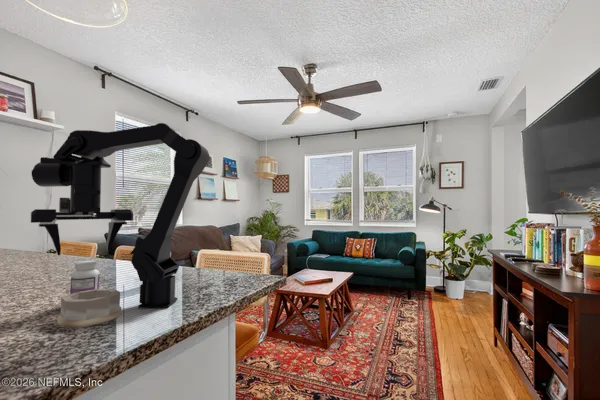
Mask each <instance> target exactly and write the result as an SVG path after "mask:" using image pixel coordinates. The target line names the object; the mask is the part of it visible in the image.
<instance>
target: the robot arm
mask: <svg viewBox="0 0 600 400" xmlns="http://www.w3.org/2000/svg"><path fill="white" fill-rule="evenodd" d="M161 144H165V145H166V146H168V147H169V148H170V149H172V150H173V151H174V152H175V154H174V160H173V176H172V179H171V181H170V182H169V183H170V184H169V186H168V188H167V191H166V193H165V196H164V198H163V200H162V204H161V205H160V208H159V210H158V212H157V215H156V218H155V220H154V222H153V225H152V228H151V230H150V232H149V233H148V234H147V235H142V236H137V238H136V240H135V243H134V248H133V249H132V251H130V253H129V254H130V255H132V256H131V261H130V262H131V264H132V266H133V268H134V269H135V271H136V272H137V276H138V279H139V281H140V282H142V284H140V285H139V304H138V305H137V309H167V308H169V307H170V306H171V305H172V304H174V303H175V302H176V301H177V300H178V297H176V295H175V294H176V275H175V274H177V273H178V271H179V268H180V264H178V262H176V260H174V258H172V256H171V252H172V249H173V245H172V244H173V243H172V235H173V233H174V230H175V229H176V226H177V223H178V221H179V218H180V216H181V214H182V213H181V212H182V210H183V209H184V206H185V203H186V201H187V199H188V196H189V193H190V191H191V188H192V186H193V184H194V182H195V181H196V179H197V178H198V177H199V176H200V175H201V174H202V173H203V171H204V170H205V168H206V166H207V165H208V163H209V161H210V153H209V151H208V150H207V148H206V147H205V146H203V145H202V144H201V143H199V142H198V141H197V140H195V139H191V138H190V139H189V138H188V139H186V138H185V137H183V136H182V135H180V134H179V133H177V132H176V131H175V129H174V128H172V127H170V126H169V125H168V124H166V123H163V122H159V123H156V124H155V125H154V124H153V125H147V126H146V125H145V126H140V127H133V128H128V129H127V128H126V129H122V130H121V129H120V130H115V131H98V130H89V129H88V130H84V129H83V130H82V129H81V130H80V129H75V130H73V131H71V132H69V135H68V136H67V138H66V140H65V141H64V142H63V143H62V144H61V146H60V148H59V149H58V150H57V151H56V152H55V154H54V155H53V157H47V156H46V157H42V156H41V157H40V162H38V163H36V164H35V165H34V166H33V169H32V170H31V178H32V180H33V182H34V183H35V184H36V185H37V186H38V187H43V188H44V187H46V188H47V187H70V193H69V194H70V195H69V197H60V198H59V201H58V202H59V203H58V204H59V205H58V210H59V211H57V209H53V208H52V209H49V208H48V209H47V208H44V209H43V208H42V209H39V208H37V209H33V210H32V211H31V212H30V223H34V224H35V223H37V224H38V223H39V224H38V227H39V228H40V227H41V228H43V227H44V228H45V229H46V231H47V233H48V235H49V237H50V238H51V241H52V243H53V246H54V248H55V251H56V255H57V256H61V252H62V251H61V249H62V248H61V240H60V239H61V238H60V230H59V224H58V223H56V222H57V221H62V220H63V221H67V220H69V221H70V220H71V221H72V220H76V221H77V220H110V221H109V222H108V231H107V232H108V233H107V237H106V238H107V239H106V251H107V252H110V250H111V249H112V246H113V243H114V241H115V239H116V237H117V235H118V234H119V231H120V230H121V228H122V226H123V225H128V222H127V221H134V211H133V210H132V209H130V208H129V209H125V208H124V209H119V208H117V209H110V211H101V199H102V198H101V196H102V194H101V193H102V191H101V190H102V187H101V186H102V169H104V168H105V169H107V168H108V169H109V168H111V167H112V165H111V164H109V163H108V162H107V161H106V160H105V158H106V157H109V156H111V155H113V154H114V153H116V152H120V151H123V150H130V149H136V148H142V147H148V146H154V145H155V146H156V145H161Z"/></svg>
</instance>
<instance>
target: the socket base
mask: <svg viewBox="0 0 600 400" xmlns="http://www.w3.org/2000/svg"><path fill="white" fill-rule="evenodd" d="M120 303H121V291H119V290H117V289H115V288H99V289H94V290H87V291H81V292H75V293H72V294H70V293H69V294H67V295H65V296H62V297H61V301H60V314H59V315H58V316H57V320H56V321H57V322H56V323H57V325H58V326H60V327H62V328H63V327H64V328H84V327H89V326H96V325H100V324H103V323H106V322H110V321H113V320H115V319H116V317H117V318H118V317H119V316H121V314H122V306H121V305H120Z"/></svg>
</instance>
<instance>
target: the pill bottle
mask: <svg viewBox="0 0 600 400" xmlns="http://www.w3.org/2000/svg"><path fill="white" fill-rule="evenodd" d="M96 267H97V261H96V260H85V261H84V260H82V261H78V262H75V264H74V269H75V271H73V272H72V273H71V276H70V289H69V290H70V291H69V295H70V294H72V293H75V292H81V291H87V290H94V289H100V276H101V275H100V274H101V273H100V271H99V270H98V269H96Z"/></svg>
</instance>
